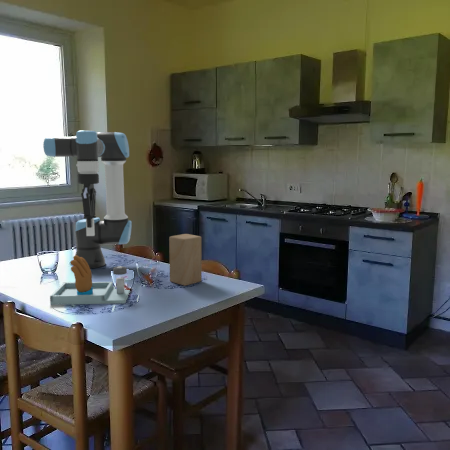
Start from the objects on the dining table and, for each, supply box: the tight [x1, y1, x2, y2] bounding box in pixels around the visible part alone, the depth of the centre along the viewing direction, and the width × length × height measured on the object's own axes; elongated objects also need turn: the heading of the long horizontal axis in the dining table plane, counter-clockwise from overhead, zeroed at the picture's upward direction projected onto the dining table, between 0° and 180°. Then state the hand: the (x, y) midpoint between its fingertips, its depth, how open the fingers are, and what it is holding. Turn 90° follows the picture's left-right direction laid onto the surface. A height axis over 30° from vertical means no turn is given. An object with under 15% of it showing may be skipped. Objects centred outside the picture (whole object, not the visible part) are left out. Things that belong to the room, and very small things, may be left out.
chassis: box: [49, 277, 131, 306], centre depth 175 cm, size 18×27×7 cm, turn 94°
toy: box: [70, 255, 93, 295], centre depth 174 cm, size 12×7×15 cm, turn 169°
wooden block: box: [168, 233, 203, 286], centre depth 195 cm, size 10×10×20 cm
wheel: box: [112, 265, 127, 276], centre depth 175 cm, size 5×5×2 cm
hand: (90, 235), depth 171 cm, fingers closed
